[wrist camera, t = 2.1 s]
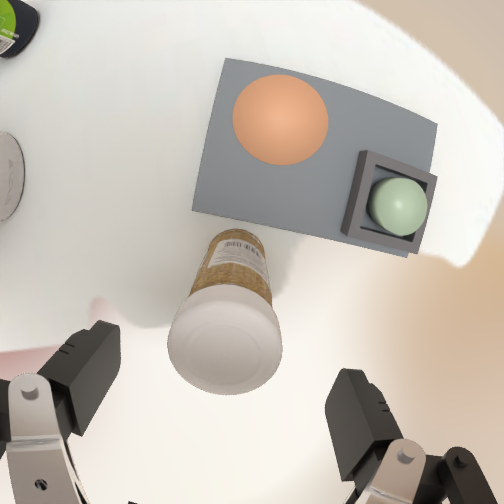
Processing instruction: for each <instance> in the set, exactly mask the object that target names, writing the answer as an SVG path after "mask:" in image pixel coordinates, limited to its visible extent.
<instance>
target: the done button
mask: <svg viewBox="0 0 504 504" xmlns="http://www.w3.org/2000/svg"><path fill="white" fill-rule="evenodd" d="M368 208H369V212H370V215H371V217H372V219H373V220H374V222H375V223H376V224H377V225H379V226H380V227H382V228H384V229H386V230H388V231H390V232H392V233H394V234H397V235H409V234H411V233H413V232H415V231H416V230H417V229H418V228H419V227H420V226H421V225H422V223H423V222H424V220H425V217H426V213H427V199H426V195H425V193H424V191H423V189H422V188H421V187H420V185H419V184H417V183H416V182H415V181H413V180H410V179H404V178H395V177H387V178H384V179H382V180H380V181H379V182H377V183H376V184H375V185H374V187H373V188H372V190H371V192H370V195H369V199H368Z"/></svg>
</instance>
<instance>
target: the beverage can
mask: <svg viewBox="0 0 504 504" xmlns="http://www.w3.org/2000/svg"><path fill="white" fill-rule="evenodd" d="M36 26H37V12H36V10H35V9H34V8H33V7H31V6H29V5H28V4H26V3H24V2H22V1H21V0H0V57H2V58H6V57H9V56H11V55H13V54H15V53H17V52H18V51H20V50H21V49H22V48H23V47H24V46H25V45H26V44H27V43H28V41H29V40H30V38H31V37H32V35H33V33H34V31H35V29H36Z"/></svg>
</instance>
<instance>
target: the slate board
mask: <svg viewBox="0 0 504 504" xmlns="http://www.w3.org/2000/svg"><path fill="white" fill-rule="evenodd" d="M436 131H437V124H436V123H434V122H432V121H430V120H428V119H426V118H424V117H422V116H420V115H418V114H416V113H413V112H411V111H409V110H407V109H404V108H402V107H400V106H397V105H395V104H393V103H390V102H388V101H385V100H383V99H380V98H378V97H375V96H372V95H370V94H367V93H364V92H361V91H359V90H356V89H353V88H350V87H347V86H344V85H341V84H338V83H334V82H331V81H328V80H325V79H321V78H318V77H314V76H310V75H307V74H303V73H299V72H295V71H291V70H287V69H283V68H278V67H274V66H269V65H264V64H259V63H254V62H248V61H242V60H236V59H230V58H225V62H224V66H223V69H222V73H221V77H220V81H219V85H218V89H217V93H216V97H215V101H214V105H213V109H212V114H211V118H210V122H209V127H208V131H207V136H206V140H205V145H204V149H203V154H202V159H201V164H200V169H199V174H198V179H197V184H196V189H195V195H194V200H193V206H192V211H197V212H203V213H208V214H213V215H218V216H223V217H228V218H233V219H237V220H242V221H247V222H252V223H257V224H261V225H266V226H271V227H276V228H280V229H285V230H289V231H294V232H298V233H303V234H308V235H312V236H317V237H321V238H325V239H330V240H334V241H338V242H343V243H347V244H351V245H356V246H360V247H364V248H368V249H372V250H377V251H381V252H385V253H389V254H393V255H397V256H402V257H405V258H407V256H408V253H409V252H410V253H414V254H418V251H419V247H420V244H421V241H422V237H423V234H424V230H425V227H426V223H427V219H428V215H429V211H430V207H431V203H432V199H433V195H434V190H435V186H436V181H437V176H435V175H433V174H430V173H429V172H430V167H431V161H432V156H433V150H434V144H435V138H436ZM387 177H395V178H404V179H410V180H413V181H415V182H416V183H417V184H419V185H420V187H421V188H422V189H423V191H424V193H425V195H426V199H427V213H426V217H425V220H424V222H423V223H422V225H421V226H420V227H419V228H418V229H417V230H416V231H415V232H413V233H411V234H409V235H397V234H394V233H392V232H390V231H388V230H386V229H384V228H382V227H380V226H379V225H377V224H376V223H375V222H374V220H373V219H372V217H371V215H370V212H369V208H368V199H369V195H370V192H371V190H372V188H373V187H374V185H375V184H376V183H377V182H379V181H380V180H382V179H384V178H387Z"/></svg>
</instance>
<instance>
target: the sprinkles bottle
mask: <svg viewBox="0 0 504 504" xmlns="http://www.w3.org/2000/svg"><path fill="white" fill-rule="evenodd" d="M167 345H168V346H167V347H168V352H169V357H170V360H171V362H172V364H173V366H174V368H175V369H176V371H177V372H178V373H179V374H180V375H181V376H182V377H183V378H184V379H185V380H186V381H187V382H189V383H190V384H192V385H193V386H195V387H197V388H199V389H201V390H204V391H206V392H210V393H213V394H219V395H236V394H242V393H246V392H249V391H252V390H254V389H256V388H258V387H260V386H262V385H263V384H264V383H266V382H267V381H268V380H269V379H270V378H271V377H272V376H273V375H274V373H275V372H276V370H277V368H278V366H279V364H280V361H281V358H282V339H281V332H280V326H279V322H278V319H277V316H276V314H275V312H274V310H273V309H272V296H271V289H270V284H269V278H268V272H267V267H266V263H265V255H264V249H263V246H262V244H261V242H260V241H259V240H258V238H257V237H255V236H254V235H253V234H251V233H249V232H247V231H245V230H240V229H232V230H227V231H224V232H222V233H220V234H219V235H217V236H216V237H215V238H214V239H213V241H212V242H211V243H210V245H209V249H208V252H207V254H206V256H205V257H204V259H203V262H202V264H201V266H200V268H199V270H198V273H197V277H196V280H195V282H194V285H193V287H192V289H191V292H190V295H189V297H188V298H187V299H186V300H185V301H184V302H183V303H182V305H181V306H180V308H179V309H178V311H177V314H176V316H175V318H174V321H173V323H172V326H171V329H170V331H169V335H168V342H167Z"/></svg>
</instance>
